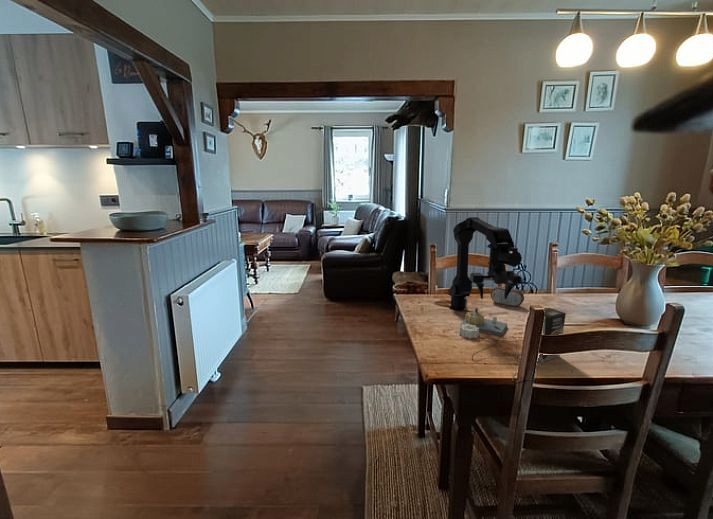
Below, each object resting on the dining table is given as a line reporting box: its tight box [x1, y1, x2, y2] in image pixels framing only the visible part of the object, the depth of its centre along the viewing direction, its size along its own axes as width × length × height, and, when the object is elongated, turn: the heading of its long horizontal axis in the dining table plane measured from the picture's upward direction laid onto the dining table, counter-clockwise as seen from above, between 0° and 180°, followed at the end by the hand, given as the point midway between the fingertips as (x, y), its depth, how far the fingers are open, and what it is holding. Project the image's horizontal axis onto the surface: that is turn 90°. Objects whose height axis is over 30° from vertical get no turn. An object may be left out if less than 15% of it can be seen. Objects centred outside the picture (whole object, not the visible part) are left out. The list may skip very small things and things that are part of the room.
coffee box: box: [537, 307, 567, 363], centre depth 127 cm, size 9×6×16 cm
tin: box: [490, 285, 525, 307], centre depth 179 cm, size 15×3×8 cm, turn 58°
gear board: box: [460, 307, 508, 337], centre depth 152 cm, size 16×11×6 cm
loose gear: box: [458, 324, 480, 340], centre depth 145 cm, size 7×7×3 cm
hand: (493, 298), depth 147 cm, fingers open, 9 cm apart
